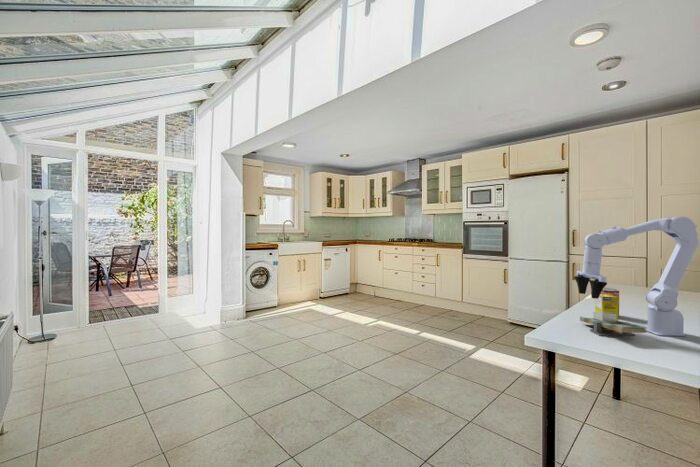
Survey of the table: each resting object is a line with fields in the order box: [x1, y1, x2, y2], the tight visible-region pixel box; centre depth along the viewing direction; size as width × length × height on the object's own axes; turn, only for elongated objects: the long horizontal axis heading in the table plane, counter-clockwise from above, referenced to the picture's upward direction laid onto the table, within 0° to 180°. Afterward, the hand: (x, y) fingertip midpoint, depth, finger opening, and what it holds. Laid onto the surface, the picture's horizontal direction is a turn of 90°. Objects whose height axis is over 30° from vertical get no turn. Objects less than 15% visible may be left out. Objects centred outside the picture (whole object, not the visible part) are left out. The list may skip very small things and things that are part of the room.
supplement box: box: [594, 294, 619, 321], centre depth 135 cm, size 6×6×11 cm
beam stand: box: [589, 321, 636, 337], centre depth 119 cm, size 5×12×4 cm, turn 86°
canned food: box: [600, 286, 620, 318], centre depth 144 cm, size 8×8×12 cm
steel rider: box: [592, 311, 617, 323], centre depth 123 cm, size 5×5×4 cm
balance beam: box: [579, 315, 647, 334], centre depth 120 cm, size 22×8×2 cm, turn 176°
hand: (588, 295), depth 130 cm, fingers open, 7 cm apart
